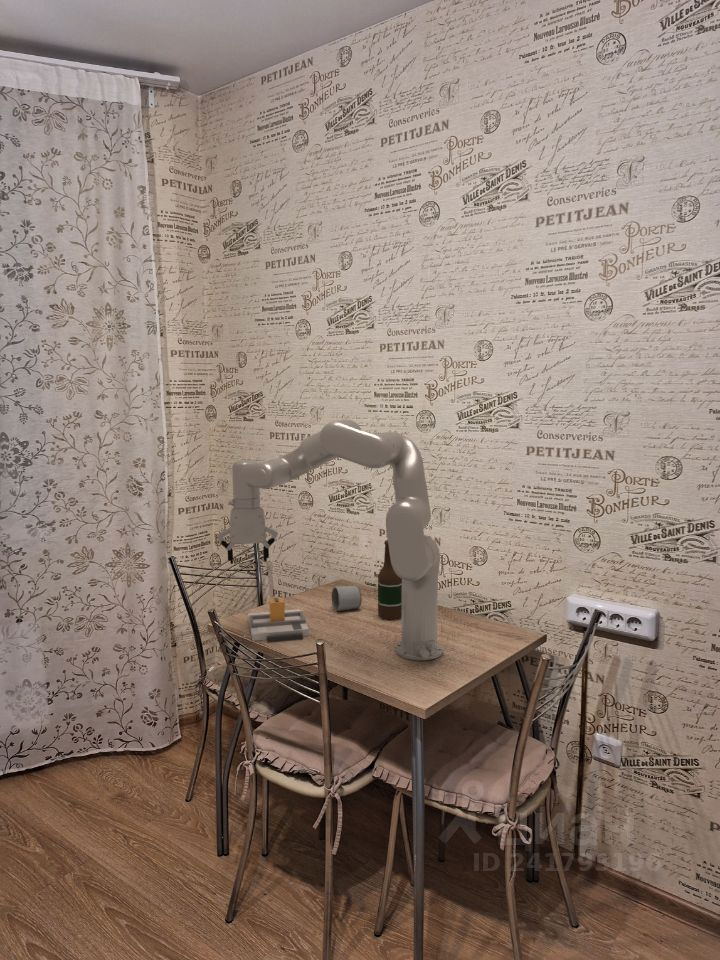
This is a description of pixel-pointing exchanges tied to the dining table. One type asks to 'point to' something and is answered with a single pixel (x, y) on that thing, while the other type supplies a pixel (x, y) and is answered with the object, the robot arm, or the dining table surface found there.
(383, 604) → the beer bottle
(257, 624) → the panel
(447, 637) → the dining table surface
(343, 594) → the ceramic mug
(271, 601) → the orange upright block
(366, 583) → the dining table surface
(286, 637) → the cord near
